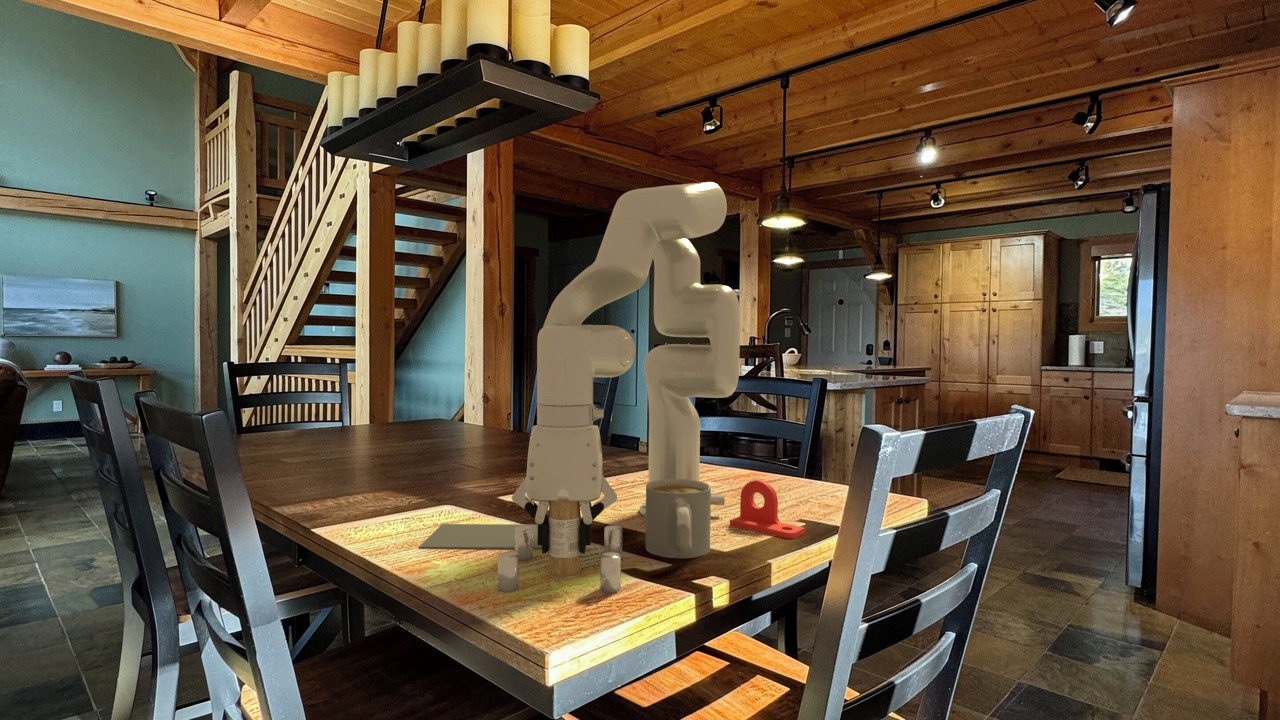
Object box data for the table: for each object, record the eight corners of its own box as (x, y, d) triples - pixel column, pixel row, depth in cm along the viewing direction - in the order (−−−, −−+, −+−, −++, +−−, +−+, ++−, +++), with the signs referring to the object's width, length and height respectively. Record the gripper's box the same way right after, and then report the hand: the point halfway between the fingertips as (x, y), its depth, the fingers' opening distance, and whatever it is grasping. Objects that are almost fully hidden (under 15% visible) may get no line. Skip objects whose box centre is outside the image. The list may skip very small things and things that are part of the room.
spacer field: (622, 555, 98) (622, 522, 98) (620, 598, 82) (620, 559, 82) (518, 555, 98) (518, 522, 98) (495, 598, 82) (495, 558, 82)
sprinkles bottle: (570, 568, 93) (571, 474, 92) (587, 578, 89) (587, 480, 88) (541, 575, 90) (541, 478, 89) (557, 585, 86) (557, 484, 86)
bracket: (729, 526, 114) (730, 481, 114) (743, 521, 118) (744, 477, 118) (792, 540, 107) (793, 492, 106) (805, 534, 110) (805, 487, 110)
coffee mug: (650, 538, 107) (650, 477, 107) (711, 541, 105) (712, 480, 105) (637, 566, 94) (637, 497, 93) (706, 571, 92) (707, 500, 92)
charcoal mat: (560, 529, 111) (560, 524, 111) (551, 552, 99) (551, 547, 99) (442, 528, 111) (442, 524, 111) (419, 552, 99) (419, 546, 99)
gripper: (627, 414, 92) (626, 542, 93) (507, 413, 92) (507, 541, 93) (627, 421, 85) (626, 560, 86) (496, 420, 85) (496, 559, 85)
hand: (564, 549), depth 89 cm, fingers closed on sprinkles bottle, 4 cm apart
